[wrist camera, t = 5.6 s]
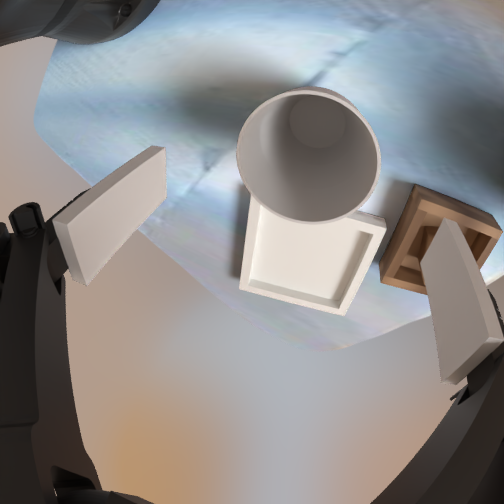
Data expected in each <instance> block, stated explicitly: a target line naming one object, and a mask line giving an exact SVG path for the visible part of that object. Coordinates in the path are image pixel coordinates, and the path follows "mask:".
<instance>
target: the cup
mask: <svg viewBox="0 0 504 504" xmlns="http://www.w3.org/2000/svg"><path fill="white" fill-rule="evenodd" d="M236 156H237V165H238V169H239V173H240V176H241V178H242V180H243V183H244V184H245V186H246V188H247V189H248V191H249V192H250V194H251V195H252V196H253V197H254V199H255V200H256V201H257V202H258V203H259V204H261V205H262V206H263V207H264V208H265V209H267V210H268V211H270V212H271V213H273V214H275V215H277V216H279V217H281V218H283V219H286V220H289V221H292V222H296V223H301V224H311V225H316V224H326V223H331V222H335V221H338V220H341V219H343V218H345V217H347V216H349V215H351V214H352V213H354V212H355V211H357V210H358V209H359V208H360V207H361V206H363V204H364V203H365V202H366V201H367V200H368V199H369V197H370V196H371V194H372V193H373V191H374V189H375V187H376V185H377V182H378V179H379V175H380V170H381V154H380V148H379V144H378V141H377V138H376V136H375V134H374V132H373V130H372V128H371V126H370V125H369V123H368V122H367V121H366V119H365V118H364V117H363V115H362V114H361V113H360V112H359V110H358V109H357V108H356V107H355V106H354V105H353V104H352V103H351V102H350V101H349V100H348V99H346V98H345V97H344V96H342V95H340V94H338V93H336V92H334V91H332V90H329V89H326V88H321V87H312V86H308V87H299V88H295V89H292V90H289V91H286V92H284V93H282V94H279V95H277V96H275V97H273V98H271V99H269V100H267V101H265V102H264V103H262V104H261V105H260V106H259V107H257V108H256V109H255V110H254V111H253V112H252V113H251V115H250V116H249V117H248V119H247V120H246V122H245V123H244V125H243V127H242V129H241V132H240V134H239V138H238V142H237V151H236Z"/></svg>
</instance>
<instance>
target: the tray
mask: <svg viewBox="0 0 504 504" xmlns="http://www.w3.org/2000/svg"><path fill="white" fill-rule="evenodd" d="M386 230H387V227H386V222H385V219H384V218H381V217H377V216H374V215H371V214H367V213H364V212H360V211H355V212H354V213H352V214H351V215H349V216H347V217H345V218H343V219H341V220H338V221H335V222H331V223H326V224H316V225H311V224H301V223H296V222H292V221H289V220H286V219H283V218H281V217H279V216H277V215H275V214H273V213H271V212H270V211H268V210H267V209H265V208H264V207H263V206H262V205H261V204H259V203H258V202H257V201H256V200H255V199H254V197H253V196H252V195H251V199H250V207H249V215H248V223H247V231H246V238H245V246H244V254H243V262H242V270H241V278H240V286H239V289H241V290H245V291H248V292H252V293H256V294H259V295H263V296H267V297H271V298H274V299H278V300H282V301H286V302H290V303H294V304H297V305H301V306H305V307H309V308H313V309H317V310H321V311H325V312H329V313H334V314H338V315H342V316H344V315H345V313H346V311H347V310H348V308H349V306H350V304H351V302H352V300H353V298H354V296H355V294H356V292H357V291H358V289H359V287H360V285H361V283H362V281H363V279H364V277H365V275H366V273H367V271H368V269H369V266H370V264H371V262H372V260H373V258H374V256H375V254H376V252H377V250H378V247H379V245H380V243H381V241H382V239H383V236H384V234H385V232H386Z"/></svg>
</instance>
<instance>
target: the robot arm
mask: <svg viewBox="0 0 504 504" xmlns="http://www.w3.org/2000/svg"><path fill="white" fill-rule="evenodd" d="M159 1H160V0H0V47H1V46H4V45H7V44H11V43H14V42H18V41H22V40H26V39H30V38H34V37H39V36H45V37H49V38H54V39H58V40H63V41H67V42H71V43H75V44H94V43H100V42H107V41H111V40H114V39H117V38H119V37H121V36H123V35H125V34H127V33H128V32H130V31H131V30H133V29H134V28H135V27H137V26H138V25H139V24H140V23H141V22H142V21H143V20H145V19H146V18H147V16H148V15H149V14H150V13H151V12H152V11H153V10H154V8H155V7H156V6H157V4H158V3H159ZM166 198H167V187H166V148H165V147H158V146H151V147H149V148H147V149H146V150H144V151H143V152H141V153H140V154H138V155H137V156H135V157H134V158H132V159H131V160H129V161H128V162H126V163H125V164H124V165H122V166H121V167H119V168H118V169H116V170H115V171H114V172H112V173H111V174H109V175H108V176H107V177H105V178H104V179H103V180H101V181H100V182H99V183H97V184H96V185H95V186H93V187H92V188H90V189H88V190H86V191H84V192H82V193H80V194H79V195H78V196H76V197H75V198H74V199H73V201H70V202H69V203H68V204H67V205H66V206H64V207H63V208H62V209H60V210H59V211H58V212H57V213H56V214H54V215H53V216H52V217H51V218H50V219H49V220H47V221H46V222H44V218H43V215H42V212H41V208H40V205H39V204H38V203H35V202H31V203H26V204H23V205H21V206H19V207H17V208H16V209H14V211H12V212H11V213H10V215H9V220H10V223H11V226H12V228H13V231H14V233H9V232H8V230H7V227H6V224H5V223H3V222H0V504H154V503H151V502H149V501H147V500H144V499H142V498H140V497H138V496H133V495H128V494H123V493H118V492H114V491H110V492H109V491H103V490H102V488H101V484H100V481H99V479H98V475H97V472H96V469H95V466H94V464H93V462H92V460H91V459H90V457H89V456H88V454H87V453H86V451H85V448H84V445H83V442H82V438H81V433H80V428H79V423H78V418H77V413H76V408H75V402H74V396H73V389H72V382H71V375H70V366H69V357H68V346H67V331H66V306H65V305H66V304H65V277H64V275H63V274H64V273H65V272H66V270H67V269H69V272H70V274H71V277H72V279H73V280H74V281H76V282H79V283H81V284H83V285H86V286H87V285H88V284H89V283H90V281H92V279H93V278H94V277H95V276H96V275H97V273H98V272H99V271H100V270H101V269H102V267H103V266H104V265H105V264H106V263H107V262H108V261H109V259H110V258H111V257H112V256H113V255H114V253H115V252H116V251H117V250H118V249H119V248H120V247H121V246H122V245H123V244H124V242H125V241H126V240H127V239H128V238H129V237H130V236H131V235H132V234H133V233H134V231H135V230H136V229H137V228H138V227H139V226H140V225H141V224H142V223H143V222H144V221H145V220H146V219H147V218H148V217H149V216H150V215H151V213H152V212H153V211H154V210H155V209H156V208H157V207H158V206H159V205H160V204H161V203H162V202H163V201H164V200H165V199H166ZM420 265H421V269H422V273H423V277H424V281H425V285H426V290H427V294H428V299H429V304H430V309H431V314H432V319H433V325H434V331H435V337H436V344H437V351H438V358H439V367H440V376H441V383H447V384H455V385H456V384H458V383H459V382H460V381H461V380H462V379H464V378H465V377H466V376H467V381H468V384H467V385H466V386H465V387H463V388H462V389H461V390H460V391H458V392H457V393H456V394H455V395H453V396H452V397H451V398H450V400H451V401H452V400H453V399H454V398H456V400H455V401H454V403H453V404H452V406H451V407H450V409H449V410H448V412H447V413H446V415H445V416H444V418H443V419H442V421H441V422H440V424H439V425H438V426H437V428H436V429H435V431H434V432H433V433H432V435H431V436H430V437H429V439H428V440H427V441H426V443H425V444H424V445H423V446H422V448H421V449H420V450H419V451H418V453H417V454H416V455H415V456H414V458H413V459H412V460H411V461H410V462H409V464H408V465H407V466H406V467H405V468H404V469H403V471H401V473H400V474H399V475H398V476H397V477H396V478H395V479H394V480H393V481H392V482H391V484H389V486H388V487H387V488H386V489H385V490H384V491H383V492H382V493H381V494H380V495H379V496H378V497H377V498H376V499H375V500H374V501H373V502H371V503H370V504H504V324H503V320H501V315H500V312H499V311H498V310H499V309H498V306H497V304H496V301H495V299H494V297H493V295H492V294H491V292H490V291H489V289H487V287H486V284H485V282H484V280H483V277H482V275H481V272H480V270H479V268H478V265H477V263H476V261H475V259H474V256H473V254H472V252H471V250H470V248H469V246H468V244H467V241H466V239H465V237H464V235H463V233H462V231H461V229H460V227H459V226H458V224H457V222H455V221H452V220H449V219H447V218H444V219H443V221H442V223H441V225H440V227H439V229H438V231H437V233H436V235H435V237H434V239H433V240H432V242H431V244H430V246H429V248H428V250H427V252H426V253H425V255H424V257H423V259H422V261H421V262H420ZM54 489H55V491H56V494H57V496H56V494H55V491H54Z"/></svg>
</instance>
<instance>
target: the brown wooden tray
mask: <svg viewBox="0 0 504 504" xmlns="http://www.w3.org/2000/svg"><path fill="white" fill-rule="evenodd" d="M444 218H447V219H449V220H452V221H455V222H457V224H458V226H459V227H460V229H461V231H462V233H463V235H464V237H465V239H466V241H467V244H468V246H469V248H470V250H471V252H472V254H473V256H474V259H475V261H476V263H477V265H478V268H479V270H480V269H481V267H482V265H483V264H484V262H485V261H486V259H487V258H488V256H489V255H490V253H491V251H492V250H493V248H494V246H495V245H496V243H497V241H498V240H499V238H500V236H501V234H502V233H503V231H502V229H501V228H500V226H499V225H498V223H497V222H496V220H495V218H494V217H493V216H492V215H491V214H489V213H486V212H484V211H482V210H480V209H477V208H475V207H473V206H471V205H468V204H466V203H463V202H461V201H459V200H456V199H454V198H451V197H449V196H446V195H444V194H441V193H439V192H436V191H433V190H431V189H428V188H425V187H422V186H420V185H417V184H414V186H413V189H412V191H411V194H410V196H409V199H408V201H407V204H406V206H405V208H404V211H403V213H402V215H401V218H400V220H399V222H398V224H397V227H396V229H395V231H394V233H393V235H392V238H391V240H390V242H389V244H388V246H387V248H386V250H385V252H384V254H383V256H382V258H381V260H380V263H379V270H380V281H381V283H383V284H387V285H391V286H395V287H398V288H402V289H406V290H410V291H414V292H417V293H421V294H425V295H428V294H427V290H426V285H425V284H424V283H423V278H422V274H421V270H420V266H419V262H418V254H419V250H420V245H421V241H422V236H423V231H424V226H435V227H440V225H441V223H442V221H443V219H444Z"/></svg>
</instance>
